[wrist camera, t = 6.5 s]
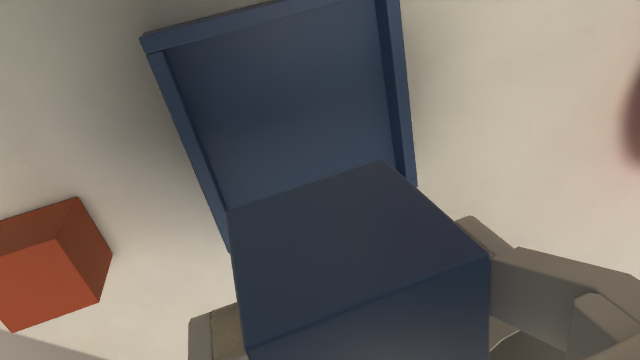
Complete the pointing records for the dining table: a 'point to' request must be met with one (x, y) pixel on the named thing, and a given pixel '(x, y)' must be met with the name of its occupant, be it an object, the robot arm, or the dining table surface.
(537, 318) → the robot arm
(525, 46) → the dining table surface
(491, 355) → the cup
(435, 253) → the blue block
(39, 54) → the dining table surface
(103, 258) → the rust block
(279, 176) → the blue tray
